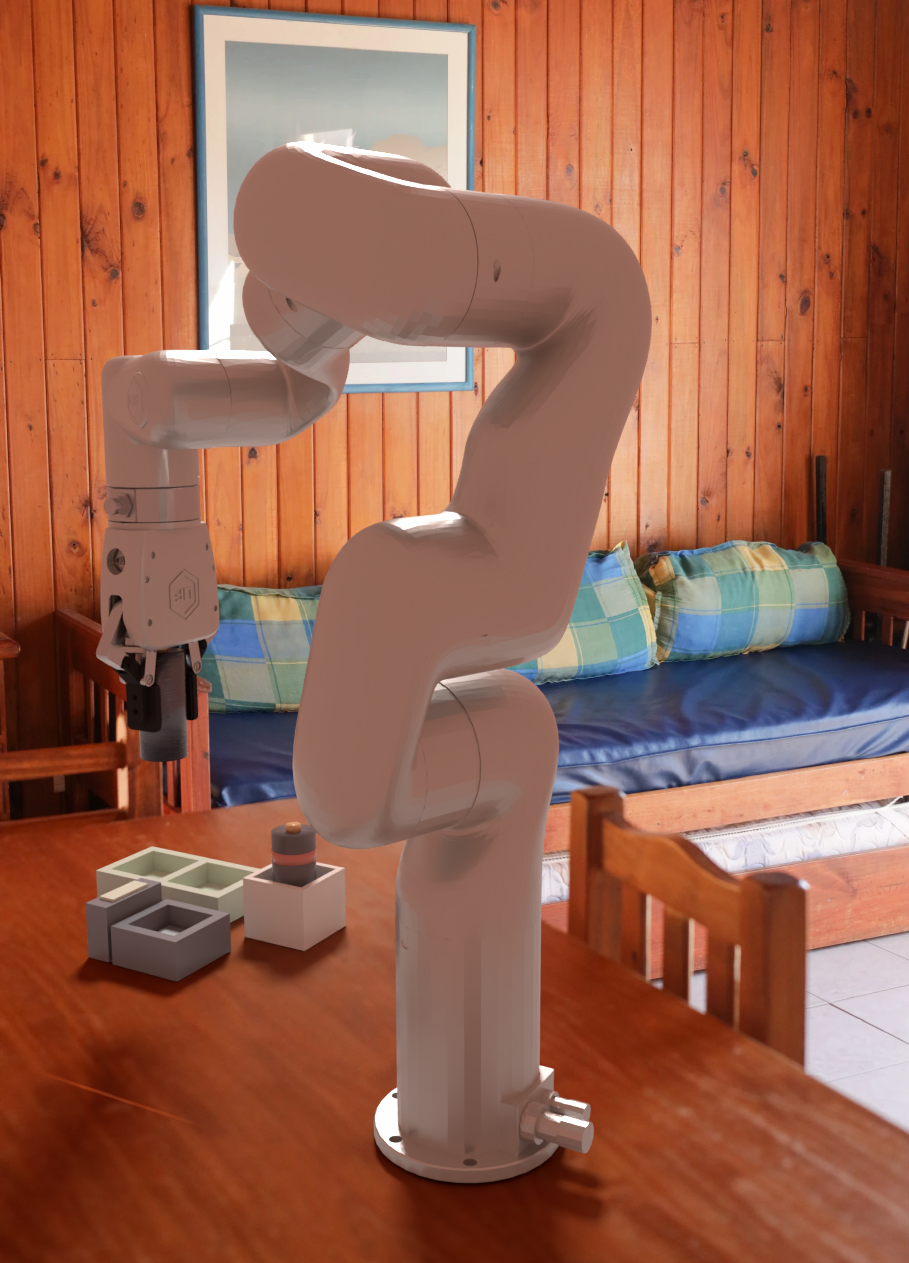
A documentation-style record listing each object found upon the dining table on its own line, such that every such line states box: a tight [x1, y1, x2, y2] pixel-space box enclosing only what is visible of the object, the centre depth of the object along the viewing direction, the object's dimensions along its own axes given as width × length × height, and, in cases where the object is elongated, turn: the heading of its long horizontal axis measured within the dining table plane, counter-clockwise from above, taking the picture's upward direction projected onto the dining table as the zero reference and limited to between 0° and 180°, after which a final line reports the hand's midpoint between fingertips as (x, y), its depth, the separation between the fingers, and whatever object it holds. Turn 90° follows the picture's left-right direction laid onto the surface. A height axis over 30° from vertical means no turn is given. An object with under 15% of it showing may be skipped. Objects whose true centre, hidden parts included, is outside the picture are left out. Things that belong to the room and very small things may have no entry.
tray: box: [95, 846, 261, 924], centre depth 131 cm, size 15×8×3 cm, turn 61°
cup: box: [243, 821, 347, 952], centre depth 123 cm, size 7×7×10 cm
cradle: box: [85, 878, 232, 983], centre depth 118 cm, size 10×7×5 cm
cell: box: [135, 647, 189, 763], centre depth 114 cm, size 4×4×10 cm
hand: (163, 722), depth 114 cm, fingers closed on cell, 4 cm apart
